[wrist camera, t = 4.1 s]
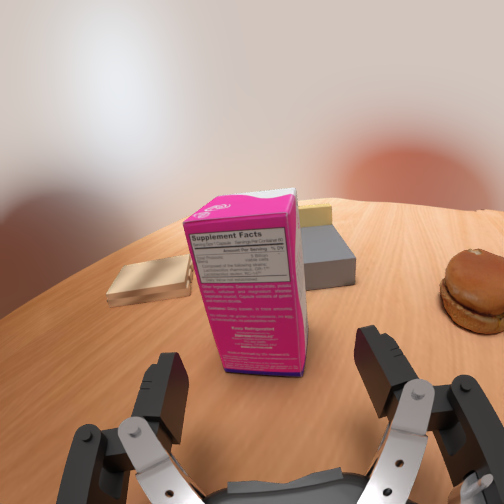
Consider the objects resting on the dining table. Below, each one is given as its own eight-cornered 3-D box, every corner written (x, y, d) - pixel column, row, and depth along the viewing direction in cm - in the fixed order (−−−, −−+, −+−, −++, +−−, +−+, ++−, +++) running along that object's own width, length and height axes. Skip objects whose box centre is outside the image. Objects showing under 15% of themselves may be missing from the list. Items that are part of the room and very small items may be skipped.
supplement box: (240, 324, 24) (216, 193, 19) (309, 326, 22) (301, 186, 18) (220, 373, 18) (179, 218, 14) (303, 379, 17) (295, 209, 12)
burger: (475, 350, 15) (494, 301, 13) (420, 293, 23) (427, 250, 22) (530, 316, 15) (545, 273, 13) (479, 275, 23) (487, 238, 22)
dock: (218, 298, 28) (208, 249, 26) (231, 251, 39) (225, 214, 37) (354, 284, 27) (356, 233, 25) (330, 241, 38) (328, 203, 36)
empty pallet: (110, 309, 29) (104, 294, 28) (126, 278, 36) (122, 265, 35) (190, 297, 29) (186, 281, 29) (194, 267, 36) (191, 253, 36)
